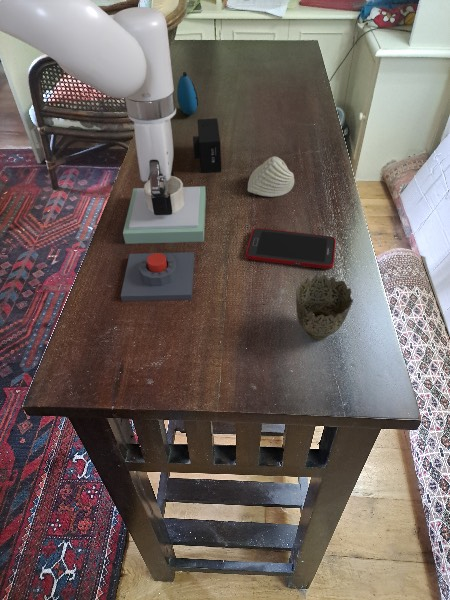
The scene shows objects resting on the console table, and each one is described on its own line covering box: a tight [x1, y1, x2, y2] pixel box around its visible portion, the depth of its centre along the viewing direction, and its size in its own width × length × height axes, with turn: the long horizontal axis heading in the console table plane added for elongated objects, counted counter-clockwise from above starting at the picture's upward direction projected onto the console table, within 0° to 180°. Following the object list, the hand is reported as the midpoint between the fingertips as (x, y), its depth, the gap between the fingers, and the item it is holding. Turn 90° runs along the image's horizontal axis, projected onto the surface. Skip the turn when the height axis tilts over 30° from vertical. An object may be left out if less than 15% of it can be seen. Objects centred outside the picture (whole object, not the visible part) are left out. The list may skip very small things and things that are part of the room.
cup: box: [295, 274, 354, 341], centre depth 63 cm, size 8×7×8 cm
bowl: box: [143, 175, 185, 214], centre depth 82 cm, size 7×7×4 cm
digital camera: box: [192, 117, 222, 174], centre depth 98 cm, size 10×5×7 cm, turn 4°
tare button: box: [147, 252, 167, 273], centre depth 72 cm, size 3×3×2 cm
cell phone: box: [245, 227, 337, 270], centre depth 78 cm, size 8×15×1 cm, turn 78°
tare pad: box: [120, 251, 196, 302], centre depth 74 cm, size 11×10×3 cm
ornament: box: [176, 71, 199, 116], centre depth 112 cm, size 8×5×10 cm, turn 22°
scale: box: [122, 185, 207, 245], centre depth 85 cm, size 14×14×3 cm
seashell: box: [247, 155, 295, 198], centre depth 90 cm, size 8×8×8 cm
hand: (165, 200), depth 83 cm, fingers closed on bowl, 6 cm apart
